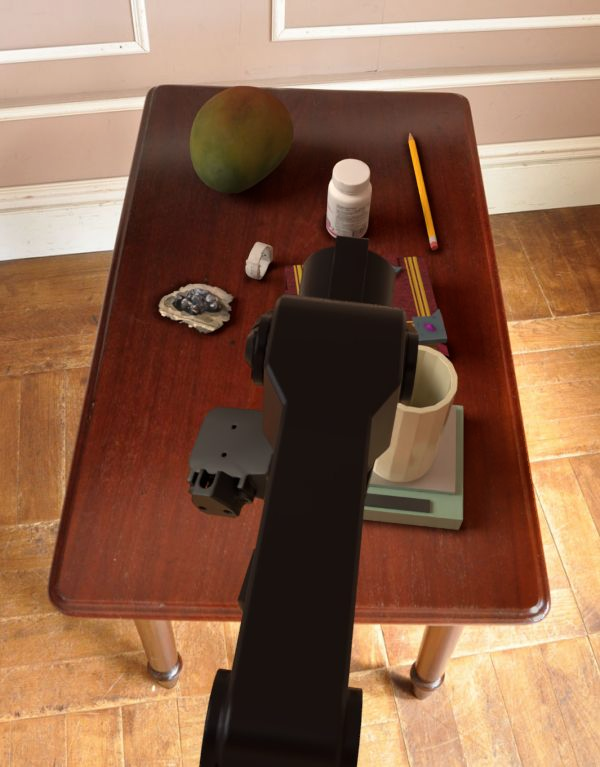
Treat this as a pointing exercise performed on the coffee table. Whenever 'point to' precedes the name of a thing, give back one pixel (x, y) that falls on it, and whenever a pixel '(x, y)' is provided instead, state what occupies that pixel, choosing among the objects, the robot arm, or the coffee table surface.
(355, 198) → the pill bottle
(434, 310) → the decorative book
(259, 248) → the smartwatch
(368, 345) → the robot arm
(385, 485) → the scale
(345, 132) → the coffee table surface
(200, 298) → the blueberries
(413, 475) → the cup
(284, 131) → the fruit
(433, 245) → the pencil
